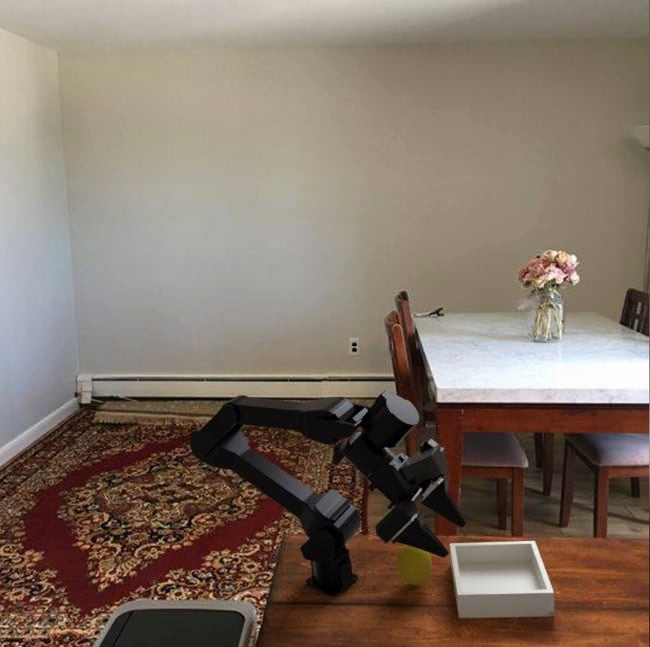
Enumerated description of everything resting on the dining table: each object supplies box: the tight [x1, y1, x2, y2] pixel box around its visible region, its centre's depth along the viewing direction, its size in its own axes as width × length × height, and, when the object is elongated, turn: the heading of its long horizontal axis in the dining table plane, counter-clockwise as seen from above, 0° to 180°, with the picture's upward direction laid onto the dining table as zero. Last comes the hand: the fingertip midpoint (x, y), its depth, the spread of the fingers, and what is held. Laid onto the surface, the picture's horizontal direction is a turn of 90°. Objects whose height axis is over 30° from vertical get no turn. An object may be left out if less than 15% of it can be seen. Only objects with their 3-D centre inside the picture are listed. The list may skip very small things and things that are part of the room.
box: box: [449, 540, 555, 619], centre depth 110 cm, size 14×14×4 cm
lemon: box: [397, 544, 433, 587], centre depth 113 cm, size 6×6×8 cm
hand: (455, 539), depth 103 cm, fingers open, 9 cm apart
